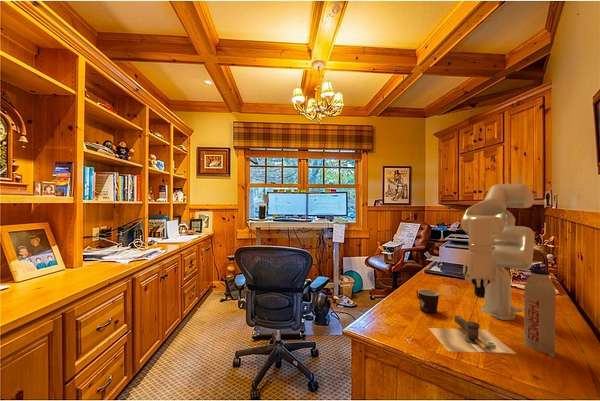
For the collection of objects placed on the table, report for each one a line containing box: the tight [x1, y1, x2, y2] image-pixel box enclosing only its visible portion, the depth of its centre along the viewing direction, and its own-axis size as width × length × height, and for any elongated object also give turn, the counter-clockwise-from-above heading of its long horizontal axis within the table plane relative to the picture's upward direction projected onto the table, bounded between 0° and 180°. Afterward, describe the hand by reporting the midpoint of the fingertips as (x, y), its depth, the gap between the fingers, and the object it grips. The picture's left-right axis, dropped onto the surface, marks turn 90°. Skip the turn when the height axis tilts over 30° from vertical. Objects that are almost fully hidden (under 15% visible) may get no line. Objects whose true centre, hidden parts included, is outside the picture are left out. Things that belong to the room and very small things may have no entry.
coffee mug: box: [416, 288, 440, 315], centre depth 123 cm, size 12×9×10 cm
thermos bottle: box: [523, 268, 556, 358], centre depth 92 cm, size 8×8×28 cm
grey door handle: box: [454, 315, 486, 348], centre depth 98 cm, size 18×4×5 cm, turn 176°
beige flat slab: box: [428, 327, 517, 355], centre depth 97 cm, size 22×16×2 cm
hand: (479, 296), depth 102 cm, fingers closed
